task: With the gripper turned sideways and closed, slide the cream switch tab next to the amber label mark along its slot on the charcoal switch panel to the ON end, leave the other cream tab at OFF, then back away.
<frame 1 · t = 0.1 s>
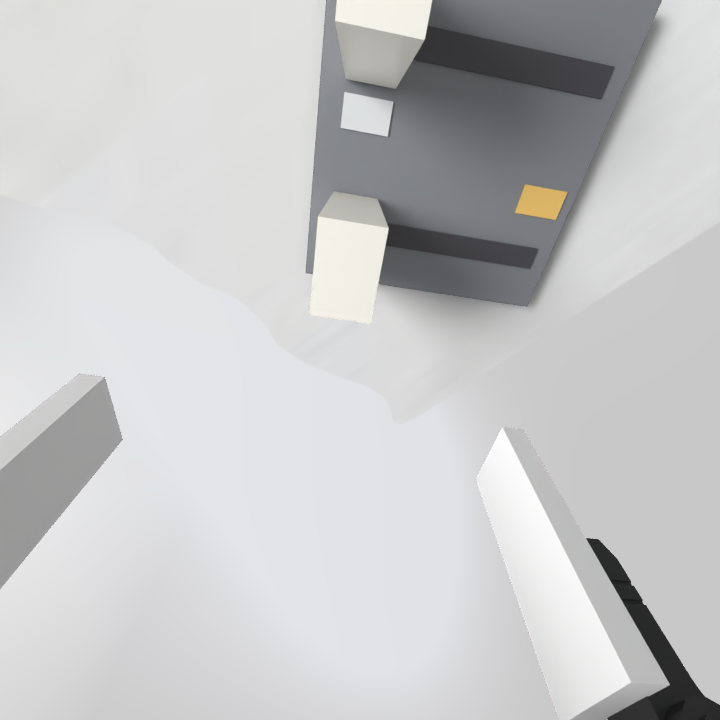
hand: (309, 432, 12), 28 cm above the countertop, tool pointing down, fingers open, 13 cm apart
tab on: (349, 246, 27), point 9 cm above the countertop, slide at 0.0 cm
switch panel: (447, 159, 32), on the countertop
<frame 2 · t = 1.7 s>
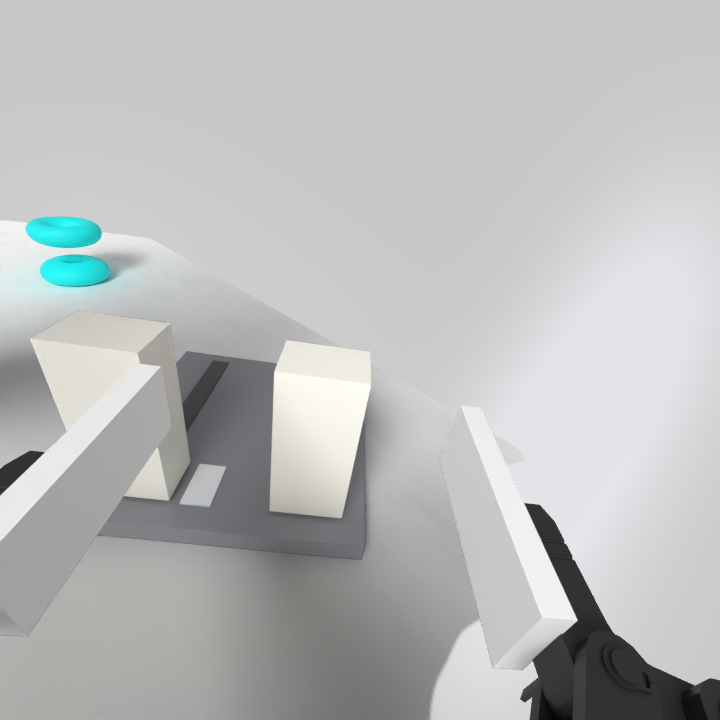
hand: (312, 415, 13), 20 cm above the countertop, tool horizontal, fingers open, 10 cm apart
tab on: (316, 436, 26), point 9 cm above the countertop, slide at 0.0 cm
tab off: (127, 413, 25), point 9 cm above the countertop, slide at 0.0 cm
donuts: (79, 279, 63), on the countertop
switch panel: (253, 437, 37), on the countertop
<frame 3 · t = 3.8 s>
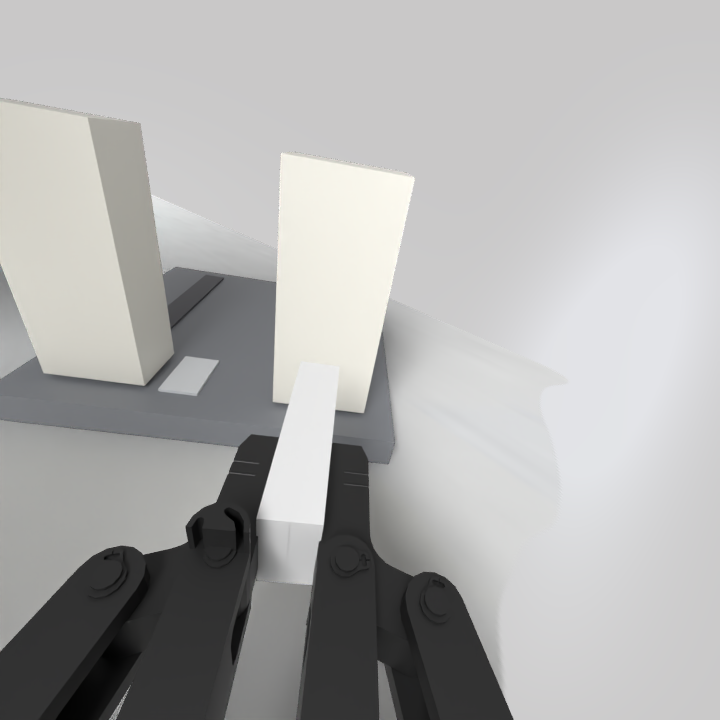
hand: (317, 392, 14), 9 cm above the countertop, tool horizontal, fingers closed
tab on: (333, 296, 20), point 9 cm above the countertop, slide at 0.0 cm
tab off: (87, 259, 19), point 9 cm above the countertop, slide at 0.0 cm
switch panel: (252, 347, 32), on the countertop
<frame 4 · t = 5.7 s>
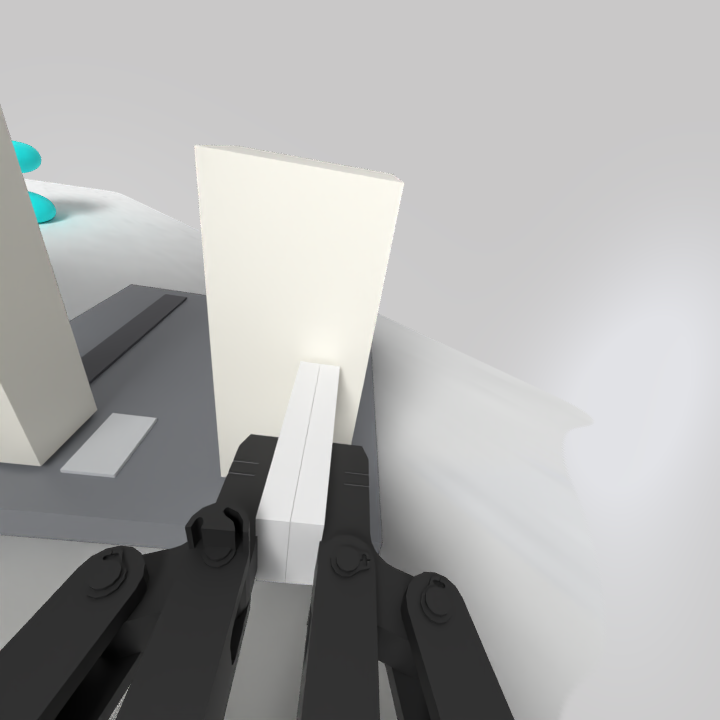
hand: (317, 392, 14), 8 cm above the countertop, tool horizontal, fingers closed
tab on: (297, 342, 15), point 9 cm above the countertop, slide at 0.4 cm, touching gripper
donuts: (15, 219, 51), on the countertop
switch panel: (212, 387, 26), on the countertop
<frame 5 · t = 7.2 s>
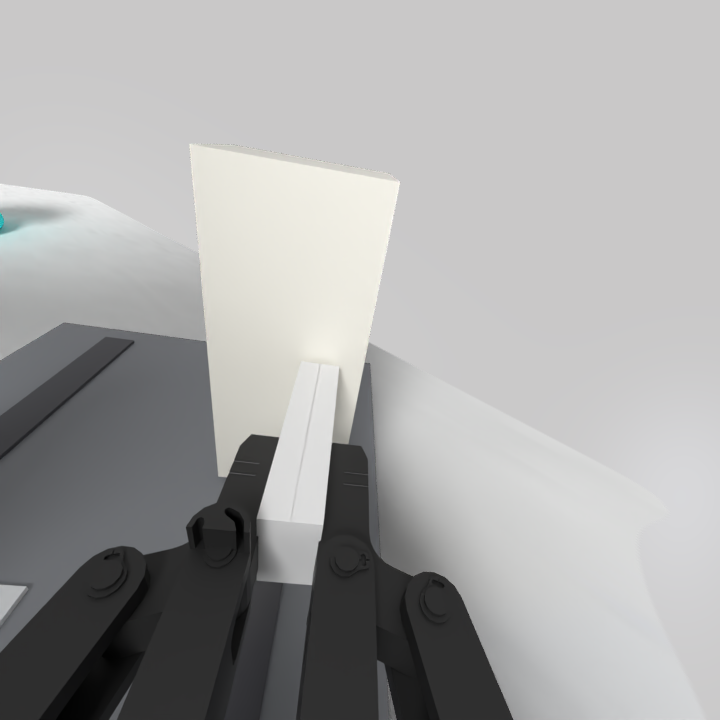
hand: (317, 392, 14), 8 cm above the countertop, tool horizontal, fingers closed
tab on: (294, 341, 15), point 9 cm above the countertop, slide at 9.2 cm, touching gripper
switch panel: (149, 485, 18), on the countertop
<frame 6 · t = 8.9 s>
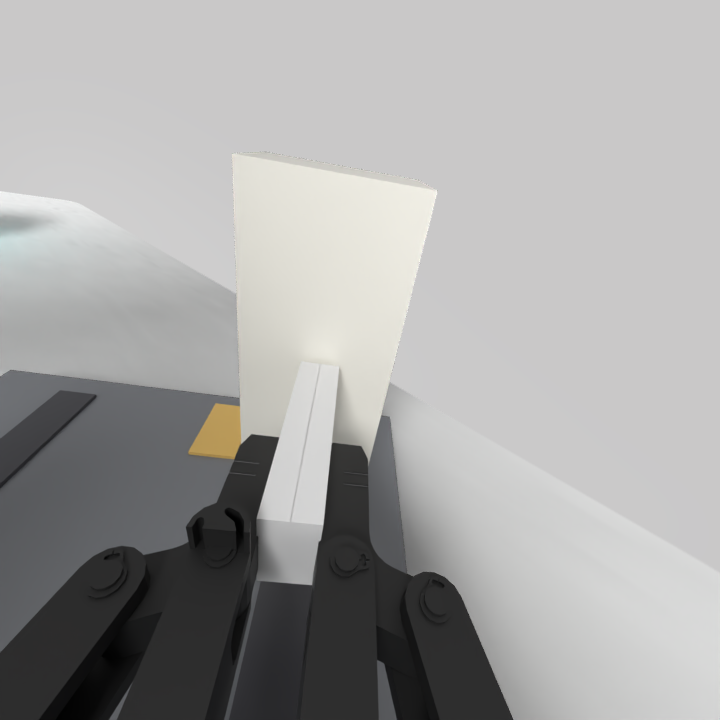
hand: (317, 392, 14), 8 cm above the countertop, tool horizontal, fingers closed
tab on: (320, 346, 15), point 9 cm above the countertop, slide at 15.6 cm, touching gripper
switch panel: (94, 628, 13), on the countertop
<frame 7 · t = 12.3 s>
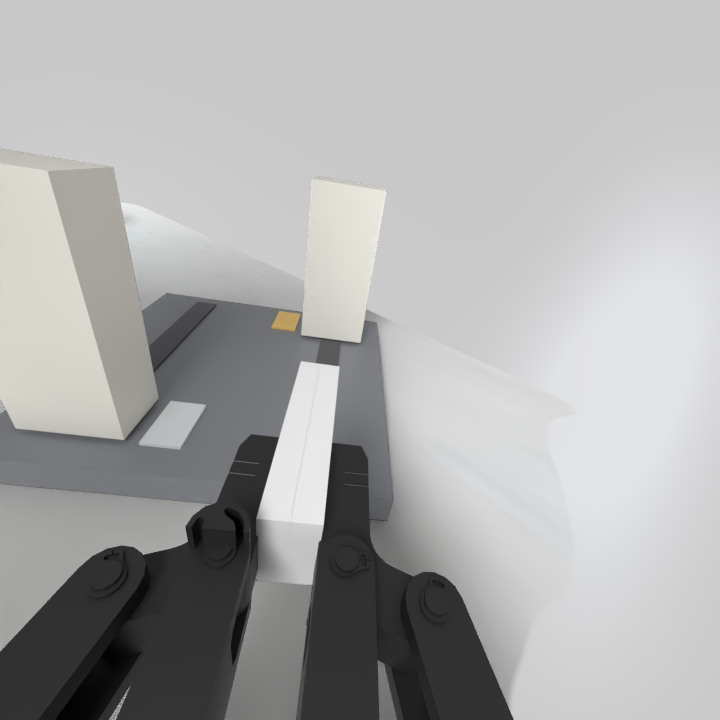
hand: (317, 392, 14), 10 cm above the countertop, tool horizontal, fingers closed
tab on: (340, 264, 33), point 9 cm above the countertop, slide at 15.8 cm
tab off: (59, 309, 18), point 9 cm above the countertop, slide at 0.0 cm
switch panel: (244, 382, 30), on the countertop
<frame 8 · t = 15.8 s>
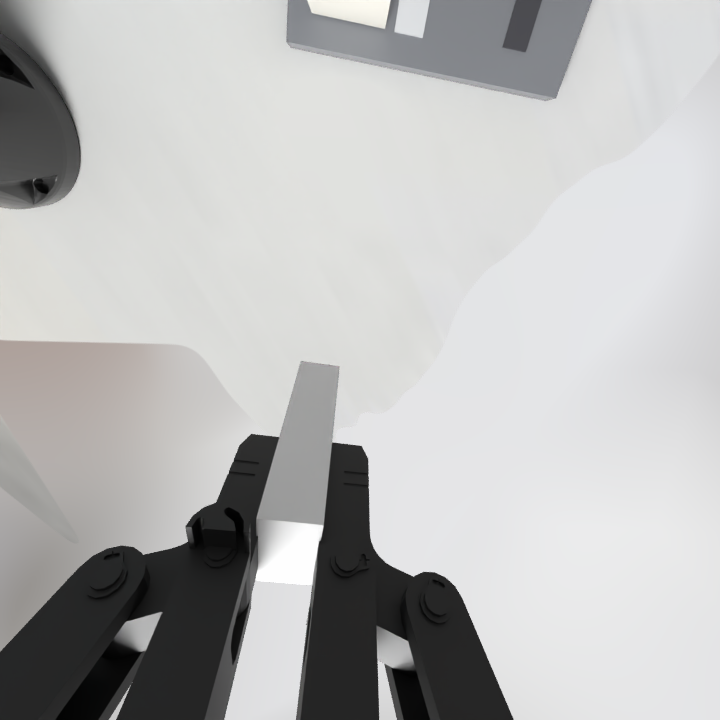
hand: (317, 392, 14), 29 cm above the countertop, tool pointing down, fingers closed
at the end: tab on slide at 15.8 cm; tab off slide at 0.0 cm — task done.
